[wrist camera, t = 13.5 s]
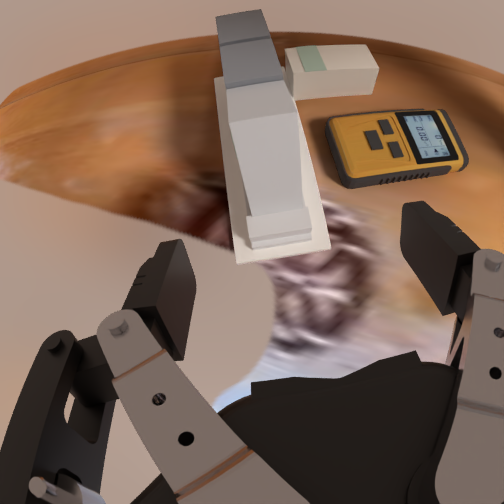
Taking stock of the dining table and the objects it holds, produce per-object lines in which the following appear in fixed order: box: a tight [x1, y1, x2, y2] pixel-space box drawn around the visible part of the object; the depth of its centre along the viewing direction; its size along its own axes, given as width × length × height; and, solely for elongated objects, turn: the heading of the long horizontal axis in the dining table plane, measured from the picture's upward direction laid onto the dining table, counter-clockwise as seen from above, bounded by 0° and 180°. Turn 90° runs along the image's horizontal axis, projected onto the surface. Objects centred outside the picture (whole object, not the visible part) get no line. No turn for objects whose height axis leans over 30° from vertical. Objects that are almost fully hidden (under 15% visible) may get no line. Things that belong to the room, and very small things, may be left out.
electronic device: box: [325, 109, 469, 189], centre depth 30 cm, size 8×16×3 cm, turn 100°
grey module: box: [226, 80, 303, 217], centre depth 24 cm, size 5×5×10 cm
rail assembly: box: [214, 9, 331, 265], centre depth 27 cm, size 9×24×12 cm, turn 8°
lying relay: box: [285, 45, 379, 101], centre depth 31 cm, size 10×4×5 cm, turn 98°
